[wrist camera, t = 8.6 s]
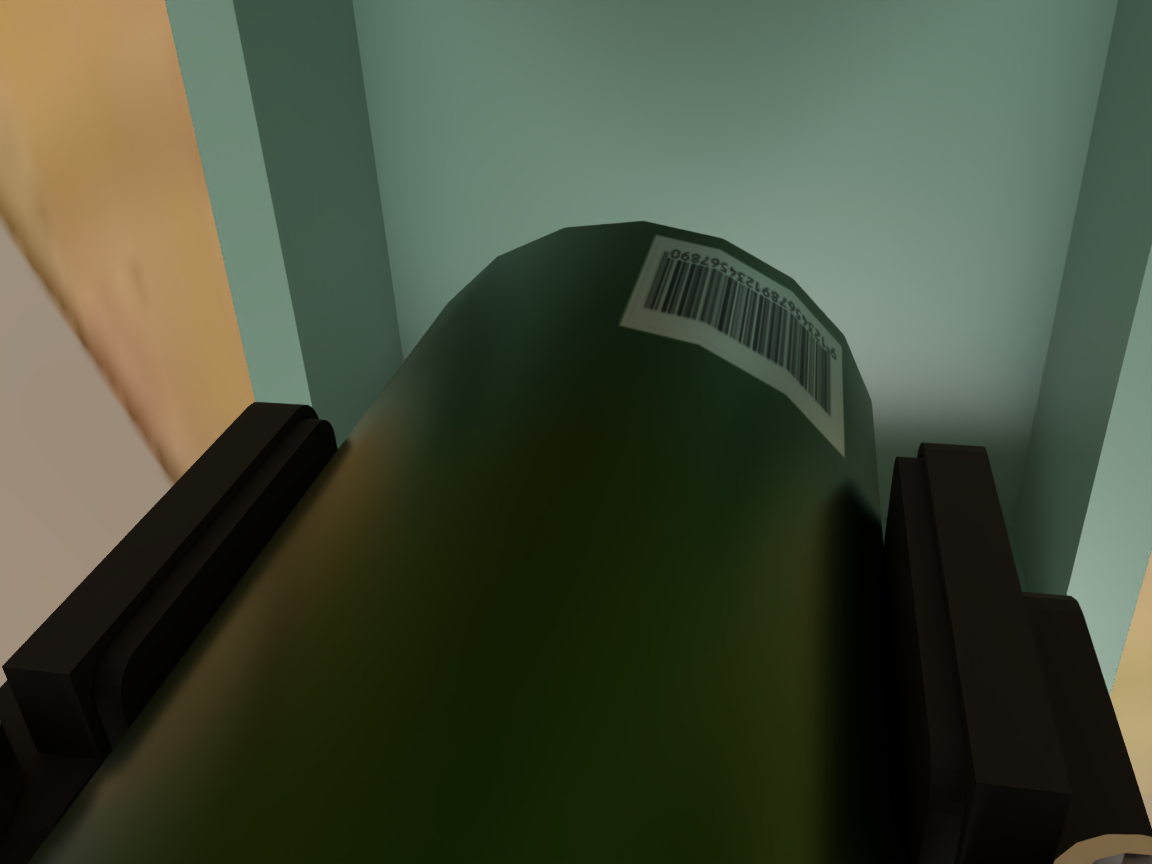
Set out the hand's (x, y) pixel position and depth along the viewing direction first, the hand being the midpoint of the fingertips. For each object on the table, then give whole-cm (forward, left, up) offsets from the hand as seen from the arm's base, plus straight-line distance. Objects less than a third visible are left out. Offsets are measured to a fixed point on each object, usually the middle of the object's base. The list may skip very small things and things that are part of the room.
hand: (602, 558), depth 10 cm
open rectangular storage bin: (0, 0, -11) cm, 11 cm away
